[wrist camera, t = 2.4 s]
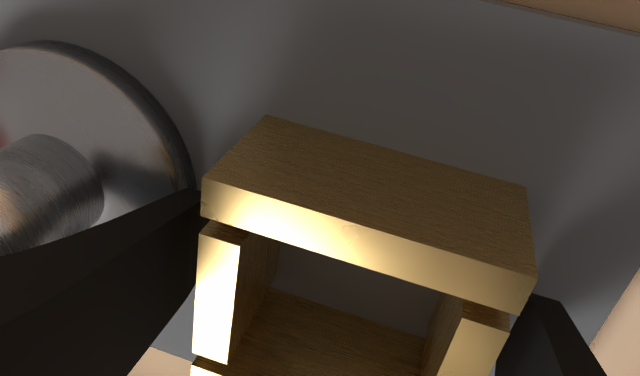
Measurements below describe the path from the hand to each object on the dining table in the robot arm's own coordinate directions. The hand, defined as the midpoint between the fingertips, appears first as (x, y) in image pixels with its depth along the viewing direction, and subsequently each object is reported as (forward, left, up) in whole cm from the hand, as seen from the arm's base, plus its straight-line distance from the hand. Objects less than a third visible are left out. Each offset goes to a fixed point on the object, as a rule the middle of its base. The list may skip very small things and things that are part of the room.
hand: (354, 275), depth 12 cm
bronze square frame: (0, 0, -1) cm, 1 cm away
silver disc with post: (+8, 0, -1) cm, 8 cm away
